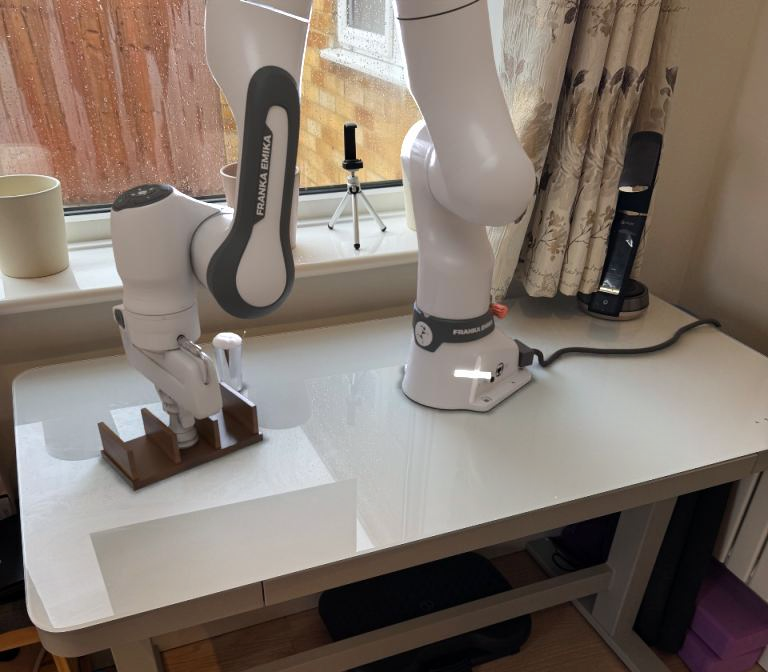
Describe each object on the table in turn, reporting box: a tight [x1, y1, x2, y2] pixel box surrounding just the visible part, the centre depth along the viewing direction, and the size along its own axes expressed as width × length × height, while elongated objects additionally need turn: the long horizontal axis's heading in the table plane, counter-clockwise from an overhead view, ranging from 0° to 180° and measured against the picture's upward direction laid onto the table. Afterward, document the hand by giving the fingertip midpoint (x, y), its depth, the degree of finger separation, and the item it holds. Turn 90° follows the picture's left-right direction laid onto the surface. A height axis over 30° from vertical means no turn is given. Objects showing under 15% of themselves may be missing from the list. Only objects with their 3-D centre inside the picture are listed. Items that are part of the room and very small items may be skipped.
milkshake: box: [211, 332, 246, 393], centre depth 117 cm, size 4×5×10 cm
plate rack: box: [96, 381, 264, 491], centre depth 104 cm, size 20×10×6 cm, turn 131°
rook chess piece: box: [163, 393, 198, 449], centre depth 103 cm, size 4×4×8 cm
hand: (179, 418), depth 103 cm, fingers closed on rook chess piece, 3 cm apart
